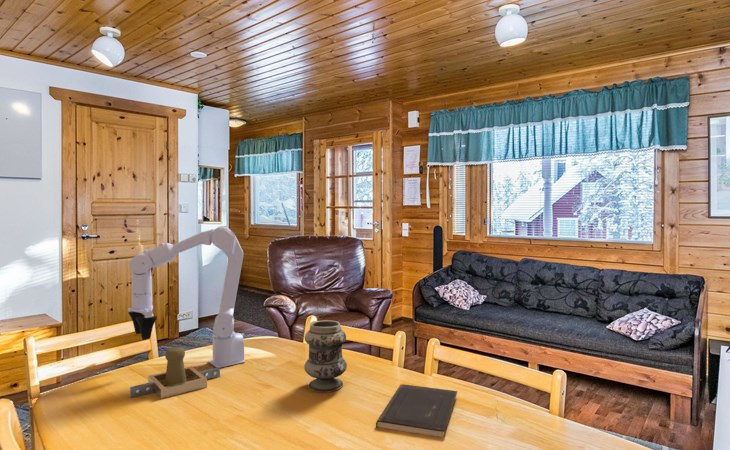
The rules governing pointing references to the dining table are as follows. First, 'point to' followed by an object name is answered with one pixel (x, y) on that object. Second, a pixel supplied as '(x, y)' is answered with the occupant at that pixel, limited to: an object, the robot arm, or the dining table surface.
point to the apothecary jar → (325, 355)
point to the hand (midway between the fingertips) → (142, 336)
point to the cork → (175, 366)
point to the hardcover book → (418, 410)
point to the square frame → (163, 392)
